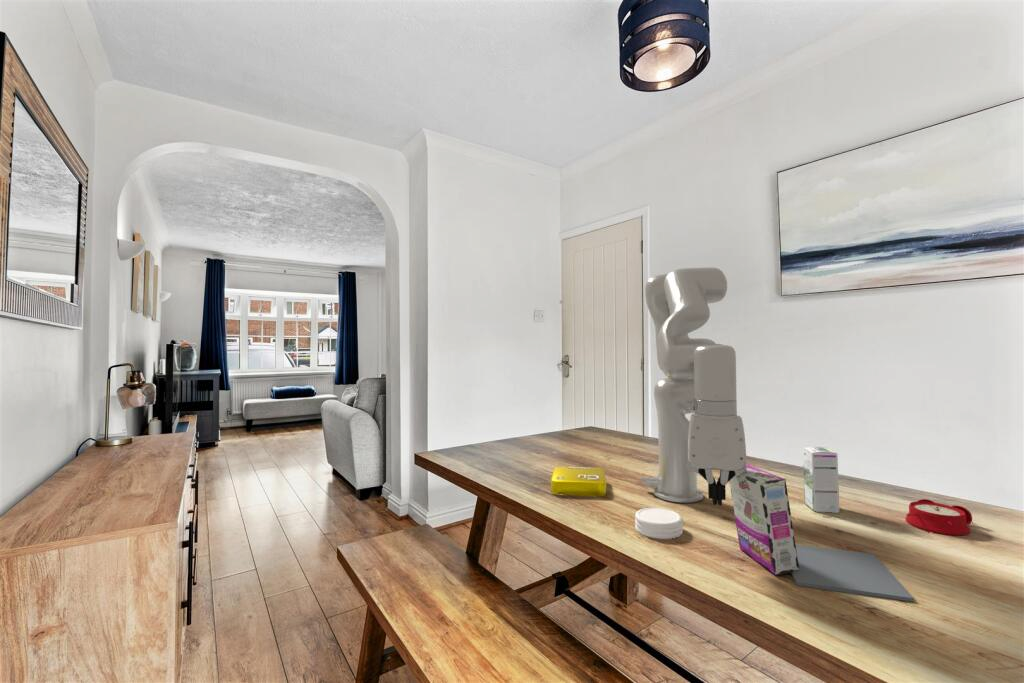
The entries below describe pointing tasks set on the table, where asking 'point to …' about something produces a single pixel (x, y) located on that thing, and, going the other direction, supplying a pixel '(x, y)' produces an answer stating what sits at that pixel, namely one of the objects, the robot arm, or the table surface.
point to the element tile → (579, 481)
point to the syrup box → (821, 479)
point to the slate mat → (847, 573)
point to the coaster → (658, 523)
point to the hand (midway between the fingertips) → (716, 502)
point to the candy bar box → (764, 520)
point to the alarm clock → (939, 517)
